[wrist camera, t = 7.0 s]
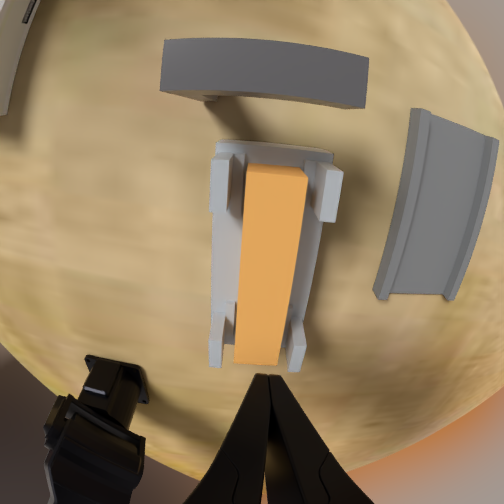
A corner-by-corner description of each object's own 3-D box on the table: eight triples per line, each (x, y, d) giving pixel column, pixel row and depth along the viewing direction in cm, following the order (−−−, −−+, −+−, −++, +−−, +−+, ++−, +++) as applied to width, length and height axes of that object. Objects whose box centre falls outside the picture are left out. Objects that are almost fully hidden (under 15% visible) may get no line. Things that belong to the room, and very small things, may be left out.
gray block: (319, 111, 16) (365, 108, 9) (200, 101, 16) (159, 90, 9) (322, 80, 15) (369, 57, 8) (203, 70, 15) (164, 39, 8)
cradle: (293, 326, 23) (301, 376, 19) (215, 321, 23) (206, 371, 18) (323, 149, 17) (349, 162, 12) (221, 139, 17) (207, 148, 12)
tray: (446, 291, 22) (453, 300, 21) (372, 289, 22) (378, 299, 21) (488, 137, 16) (499, 140, 15) (410, 108, 16) (421, 108, 14)
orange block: (275, 337, 21) (276, 365, 18) (236, 334, 21) (233, 363, 18) (299, 167, 16) (308, 177, 13) (248, 162, 15) (246, 171, 13)
